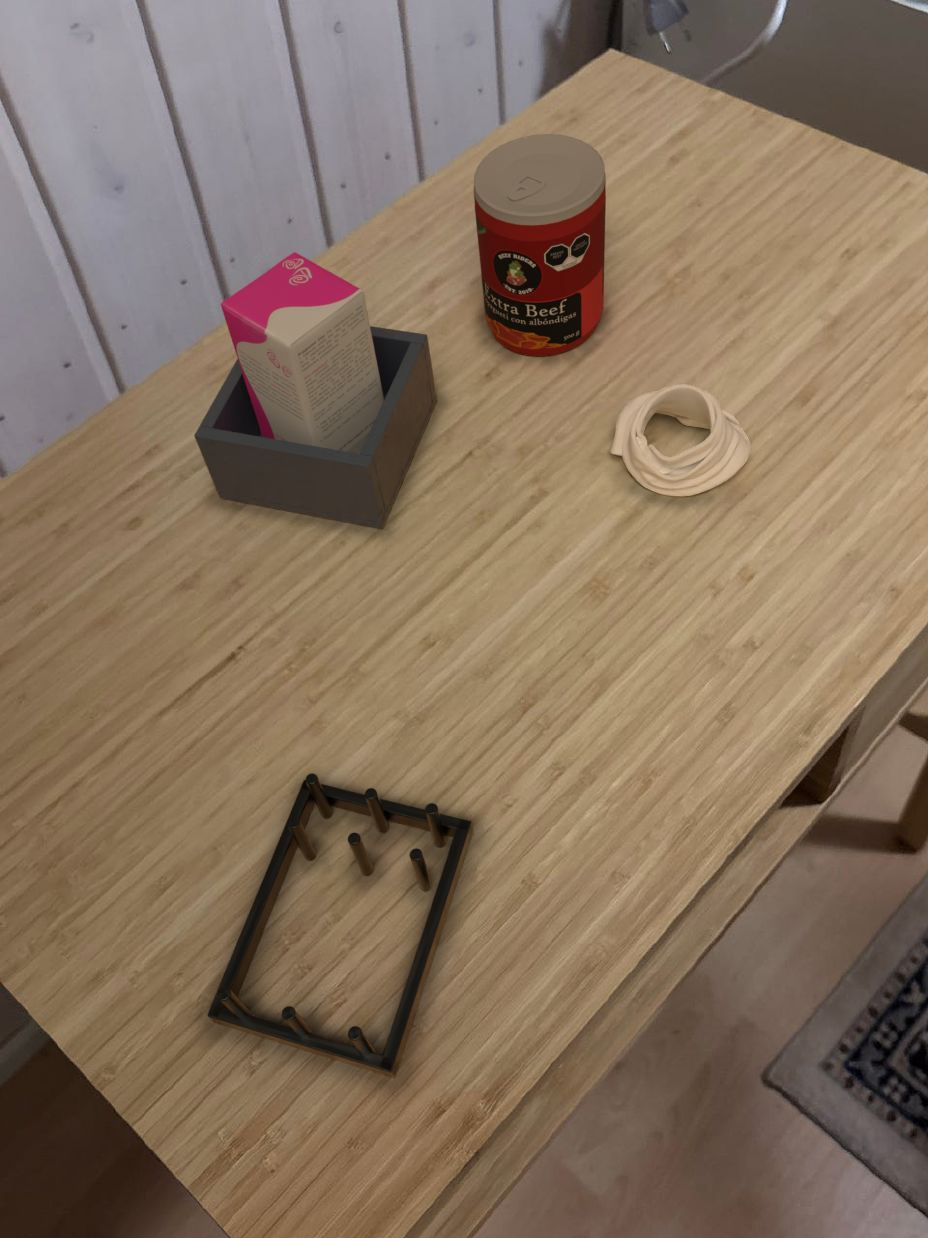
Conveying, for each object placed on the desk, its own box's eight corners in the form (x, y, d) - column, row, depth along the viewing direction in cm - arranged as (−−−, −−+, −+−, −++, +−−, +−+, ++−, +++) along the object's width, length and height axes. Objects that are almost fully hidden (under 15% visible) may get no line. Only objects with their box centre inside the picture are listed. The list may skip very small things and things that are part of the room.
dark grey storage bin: (382, 529, 67) (367, 466, 63) (219, 498, 70) (193, 435, 65) (437, 400, 73) (427, 333, 68) (284, 376, 75) (264, 309, 70)
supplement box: (395, 436, 70) (366, 288, 61) (326, 495, 68) (285, 351, 59) (331, 394, 73) (293, 246, 63) (262, 449, 71) (213, 304, 61)
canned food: (466, 343, 75) (450, 200, 66) (516, 267, 79) (507, 121, 70) (575, 372, 73) (573, 228, 64) (620, 292, 77) (625, 145, 68)
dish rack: (394, 1079, 50) (381, 1057, 47) (213, 1022, 52) (188, 998, 49) (473, 830, 56) (466, 796, 53) (308, 789, 58) (291, 753, 55)
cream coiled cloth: (753, 439, 70) (771, 377, 66) (733, 516, 66) (751, 455, 62) (624, 409, 71) (635, 347, 67) (598, 484, 67) (607, 422, 63)
